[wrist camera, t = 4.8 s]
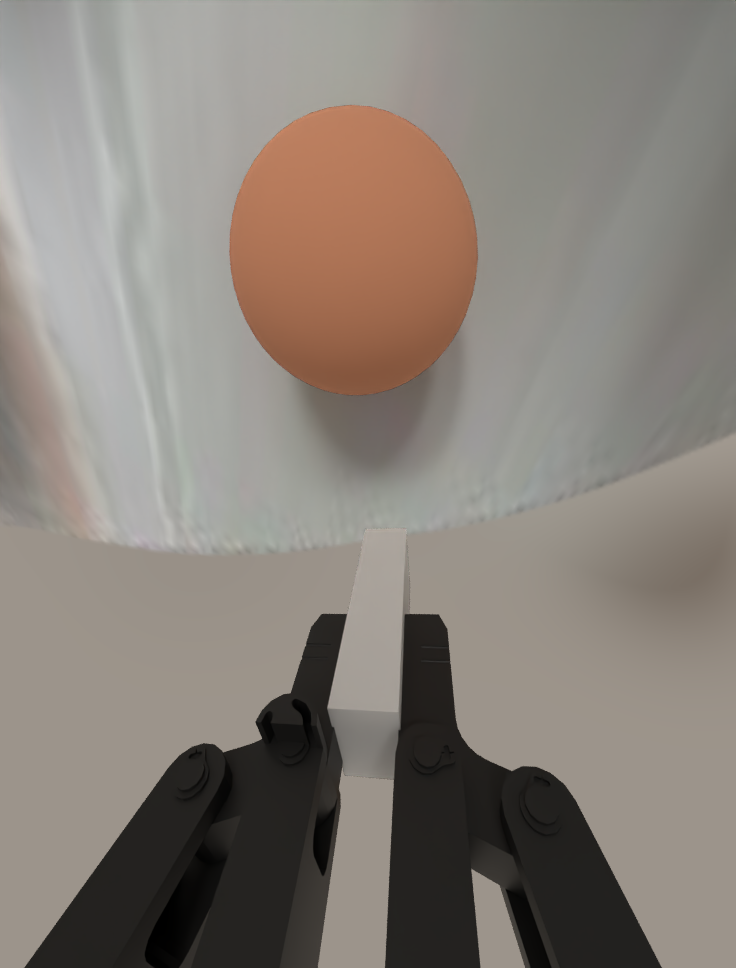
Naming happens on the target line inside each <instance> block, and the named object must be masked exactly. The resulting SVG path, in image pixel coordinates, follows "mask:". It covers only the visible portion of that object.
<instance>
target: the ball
mask: <svg viewBox="0 0 736 968" xmlns="http://www.w3.org/2000/svg"><path fill="white" fill-rule="evenodd" d="M229 252H230V265H231V273H232V278H233V284H234V288H235V292H236V295H237V298H238V302H239V305H240V307H241V310H242V312H243V314H244V317H245V319H246V321H247V323H248V325H249V327H250V328H251V330H252V332H253V334H254V335H255V337H256V338H257V340H258V341H259V343H260V344H261V345H262V347H263V348H264V349H265V350H266V351H267V353H268V354H269V355H270V356H271V357H272V358H273V359H274V360H275V361H276V362H277V363H278V364H279V365H280V366H282V367H283V368H284V369H285V370H287V371H288V372H289V373H291V374H292V375H293V376H295V377H296V378H298V379H300V380H302V381H304V382H306V383H307V384H309V385H311V386H314V387H316V388H319V389H321V390H325V391H328V392H332V393H336V394H344V395H367V394H374V393H379V392H383V391H386V390H390V389H393V388H395V387H397V386H400V385H402V384H404V383H406V382H408V381H410V380H411V379H413V378H415V377H416V376H418V375H419V374H421V373H422V372H423V371H425V370H426V369H427V368H428V367H430V366H431V365H432V364H433V363H434V362H435V361H436V360H437V359H438V358H439V357H440V356H441V354H442V353H443V352H444V351H445V349H446V348H447V347H448V346H449V344H450V343H451V341H452V340H453V338H454V336H455V335H456V333H457V332H458V330H459V328H460V326H461V324H462V322H463V319H464V317H465V315H466V313H467V310H468V307H469V304H470V301H471V298H472V294H473V289H474V284H475V279H476V271H477V260H478V252H477V234H476V228H475V221H474V216H473V212H472V209H471V205H470V202H469V198H468V196H467V193H466V191H465V189H464V186H463V184H462V181H461V179H460V178H459V176H458V174H457V172H456V171H455V169H454V167H453V166H452V164H451V162H450V161H449V159H448V158H447V157H446V155H445V154H444V153H443V152H442V150H441V149H440V148H439V147H438V145H437V144H436V143H435V142H434V141H433V140H432V139H431V138H429V137H428V136H427V135H426V134H425V133H424V132H423V131H422V130H421V129H419V128H418V127H416V126H415V125H413V124H412V123H410V122H409V121H407V120H406V119H404V118H402V117H399V116H397V115H395V114H393V113H391V112H388V111H385V110H381V109H377V108H373V107H370V106H356V105H347V106H337V107H329V108H325V109H322V110H319V111H315V112H312V113H310V114H308V115H306V116H303V117H301V118H299V119H297V120H295V121H294V122H292V123H291V124H290V125H288V126H287V127H285V128H284V129H283V130H281V131H280V132H279V133H278V134H277V135H276V136H275V137H274V138H273V139H272V140H271V141H270V142H269V143H268V144H267V145H266V146H265V147H264V148H263V150H262V151H261V152H260V154H259V155H258V156H257V158H256V159H255V160H254V162H253V164H252V165H251V167H250V169H249V171H248V173H247V174H246V176H245V178H244V181H243V183H242V186H241V188H240V191H239V193H238V196H237V200H236V203H235V207H234V211H233V215H232V222H231V229H230V250H229Z"/></svg>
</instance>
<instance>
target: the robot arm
mask: <svg viewBox="0 0 736 968" xmlns="http://www.w3.org/2000/svg"><path fill="white" fill-rule="evenodd" d="M409 605H410V578H409V563H408V548H407V534H406V528H383V529H365V533H364V537H363V542H362V547H361V552H360V557H359V561H358V566H357V571H356V576H355V581H354V585H353V590H352V594H351V599H350V604H349V608H348V613H347V614H322V615H321V616H320V617H319V618H318V620H317V621H316V622H315V623H314V625H313V626H312V627H311V630H310V633H309V636H308V639H307V643H306V647H305V649H304V652H303V656H302V660H301V662H300V665H299V668H298V672H297V675H296V678H295V681H294V685H293V688H292V691H291V693H290V694H283V695H281V696H279V697H278V698H276V699H274V700H272V701H271V702H270V703H269V704H268V705H267V706H266V707H265V708H264V709H263V710H262V711H261V713H260V715H259V717H258V718H257V720H256V725H257V727H258V729H259V732H260V734H261V736H262V739H261V740H259V741H257V742H255V743H252V744H250V745H246V746H243V747H240V748H237V749H233V750H230V751H227V752H224V753H223V752H222V750H220V749H219V748H218V747H217V746H216V745H213V744H205V743H204V744H200V745H197V746H194V747H192V748H190V749H188V750H187V751H185V752H184V753H182V754H181V755H180V756H179V757H178V758H177V759H176V760H175V761H174V762H173V763H172V764H171V765H170V767H169V768H168V769H167V770H166V772H165V773H164V775H163V776H162V777H161V779H160V780H159V782H158V783H157V784H156V786H155V787H154V789H153V790H152V791H151V793H150V794H149V796H148V797H147V798H146V800H145V801H144V802H143V804H142V805H141V807H140V808H139V809H138V811H137V812H136V813H135V815H134V816H133V818H132V819H131V820H130V822H129V823H128V825H127V826H126V827H125V829H124V830H123V832H122V833H121V834H120V836H119V837H118V838H117V840H116V841H115V843H114V844H113V845H112V847H111V848H110V850H109V851H108V852H107V854H106V855H105V857H104V858H103V859H102V861H101V862H100V864H99V865H98V866H97V868H96V869H95V871H94V872H93V874H92V875H91V876H90V877H89V879H88V880H87V882H86V883H85V884H84V886H83V887H82V889H81V890H80V891H79V893H78V894H77V895H76V897H75V898H74V900H73V901H72V902H71V904H70V905H69V907H68V908H67V909H66V911H65V912H64V914H63V915H62V916H61V918H60V919H59V920H58V922H57V923H56V925H55V926H54V927H53V929H52V930H51V932H50V933H49V934H48V936H47V937H46V938H45V940H44V941H43V943H42V944H41V945H40V947H39V948H38V950H37V951H36V952H35V954H34V955H33V957H32V958H31V959H30V961H29V962H28V964H27V965H26V966H25V968H318V960H319V954H320V947H321V940H322V933H323V926H324V919H325V912H326V905H327V898H328V891H329V884H330V877H331V870H332V862H333V856H334V849H335V842H336V835H337V828H338V822H339V815H340V807H341V805H340V792H339V783H340V777H341V770H342V767H343V771H344V775H345V776H357V777H369V778H381V779H393V780H394V791H393V812H392V813H393V814H392V834H391V855H390V876H389V897H388V918H387V939H386V940H387V941H386V961H385V968H480V958H479V948H478V937H477V926H476V916H475V905H474V894H473V883H472V873H471V869H473V870H475V871H476V872H478V873H480V874H482V875H483V876H485V877H487V878H488V879H490V880H492V881H493V882H495V883H497V884H499V885H500V888H501V891H502V894H503V897H504V900H505V904H506V907H507V910H508V913H509V917H510V920H511V923H512V926H513V930H514V933H515V936H516V939H517V942H518V946H519V949H520V952H521V955H522V959H523V962H524V965H525V968H662V967H661V966H660V964H659V962H658V960H657V958H656V956H655V954H654V952H653V950H652V948H651V946H650V944H649V942H648V940H647V938H646V936H645V934H644V932H643V931H642V929H641V927H640V925H639V923H638V921H637V919H636V917H635V915H634V913H633V911H632V909H631V907H630V905H629V903H628V901H627V899H626V897H625V896H624V894H623V892H622V890H621V888H620V886H619V884H618V882H617V880H616V878H615V876H614V874H613V872H612V870H611V868H610V866H609V865H608V862H607V861H606V859H605V857H604V855H603V853H602V851H601V849H600V847H599V845H598V843H597V841H596V839H595V838H594V835H593V833H592V831H591V829H590V827H589V826H588V824H587V822H586V820H585V818H584V816H583V814H582V812H581V810H580V808H579V806H578V804H577V802H576V800H575V799H574V798H573V796H572V795H571V793H570V792H569V790H568V789H567V787H566V786H565V785H564V784H563V783H562V782H561V781H559V780H558V779H557V778H556V777H555V776H554V775H552V774H551V773H549V772H547V771H545V770H542V769H540V768H537V767H527V766H523V767H520V768H518V769H516V770H514V771H510V770H508V769H506V768H503V767H501V766H499V765H497V764H494V763H492V762H490V761H488V760H486V759H484V758H482V757H481V756H479V755H477V754H476V753H475V752H474V751H473V750H472V749H470V747H468V745H467V744H466V742H465V741H464V740H463V738H462V737H461V734H460V732H459V730H458V728H457V723H456V718H455V708H454V697H453V685H452V675H451V664H450V653H449V642H448V632H447V628H446V626H445V625H444V623H443V621H442V619H441V618H440V616H439V615H433V614H432V615H430V614H409V610H410V606H409Z"/></svg>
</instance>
